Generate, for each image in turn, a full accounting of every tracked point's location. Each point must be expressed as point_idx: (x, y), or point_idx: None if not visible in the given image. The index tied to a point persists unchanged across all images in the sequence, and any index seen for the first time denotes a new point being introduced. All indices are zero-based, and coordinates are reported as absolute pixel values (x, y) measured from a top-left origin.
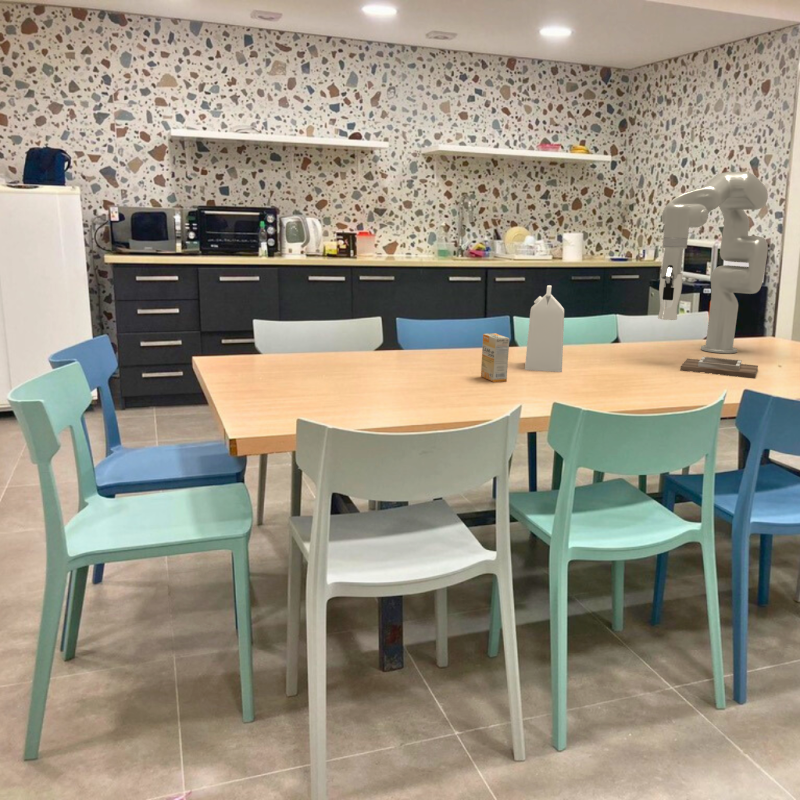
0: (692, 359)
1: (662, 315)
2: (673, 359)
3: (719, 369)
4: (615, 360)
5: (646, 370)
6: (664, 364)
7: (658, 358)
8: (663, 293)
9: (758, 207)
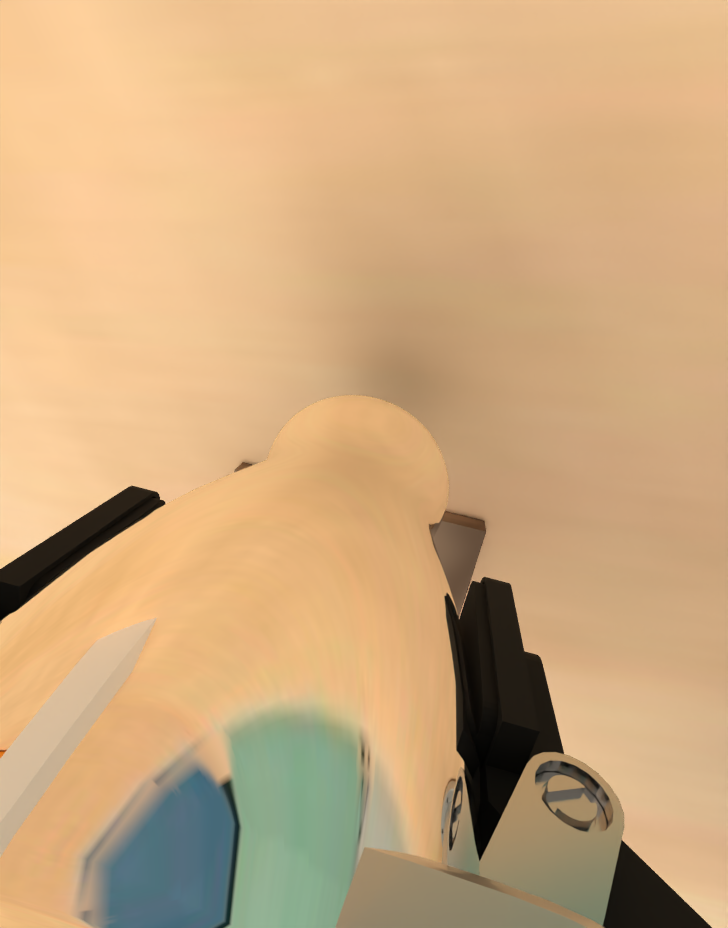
0: (461, 552)
1: (275, 440)
2: (577, 465)
3: None
4: (409, 91)
5: (159, 292)
6: (386, 400)
7: (587, 382)
8: (73, 527)
9: None
